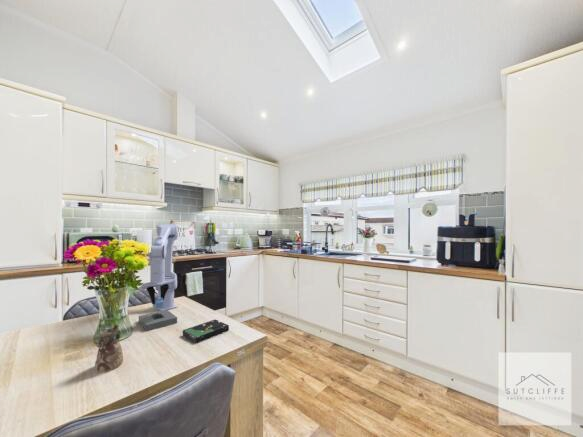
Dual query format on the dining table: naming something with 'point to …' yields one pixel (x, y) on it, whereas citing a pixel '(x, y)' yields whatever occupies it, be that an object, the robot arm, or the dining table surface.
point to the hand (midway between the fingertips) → (157, 302)
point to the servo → (158, 302)
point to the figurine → (108, 351)
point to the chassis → (157, 320)
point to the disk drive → (205, 331)
